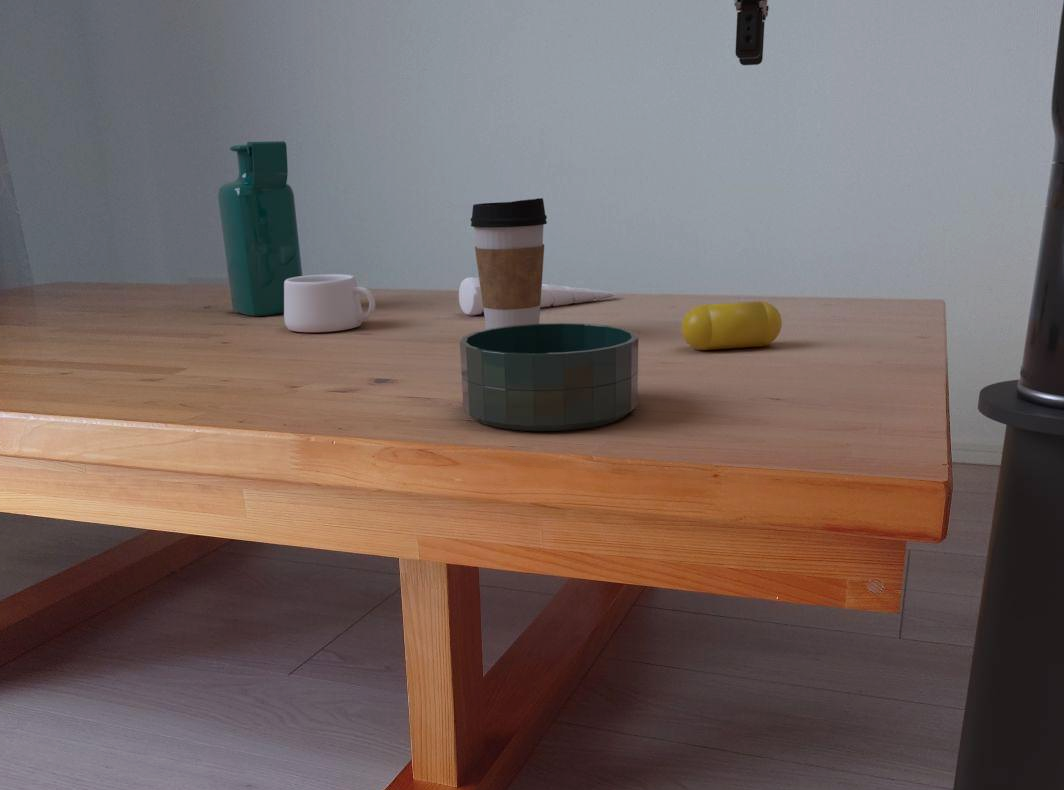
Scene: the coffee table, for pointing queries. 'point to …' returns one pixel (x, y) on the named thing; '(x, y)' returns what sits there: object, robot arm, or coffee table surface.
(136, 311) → the coffee table surface
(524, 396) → the teal round dish
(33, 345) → the coffee table surface
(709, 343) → the capsule
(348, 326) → the mug
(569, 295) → the unicorn horn
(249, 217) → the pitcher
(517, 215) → the coffee cup
